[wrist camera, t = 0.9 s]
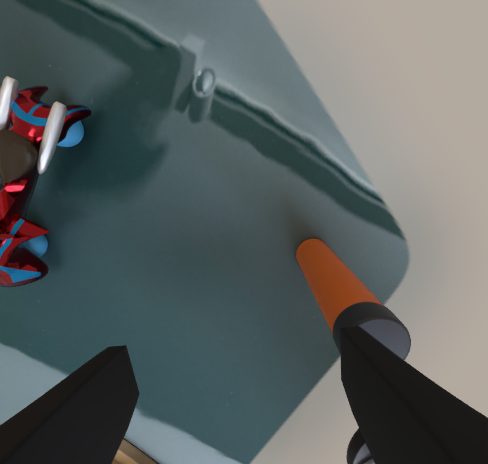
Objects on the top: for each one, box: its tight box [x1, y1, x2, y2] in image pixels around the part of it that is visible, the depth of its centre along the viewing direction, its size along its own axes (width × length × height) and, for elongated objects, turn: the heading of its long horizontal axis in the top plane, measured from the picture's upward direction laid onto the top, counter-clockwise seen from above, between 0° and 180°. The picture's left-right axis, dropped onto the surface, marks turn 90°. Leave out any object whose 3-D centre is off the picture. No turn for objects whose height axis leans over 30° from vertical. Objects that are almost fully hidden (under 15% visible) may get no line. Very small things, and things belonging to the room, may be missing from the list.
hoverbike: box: [0, 76, 91, 287], centre depth 14 cm, size 5×12×6 cm, turn 153°
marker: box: [296, 239, 411, 360], centre depth 13 cm, size 2×2×9 cm
